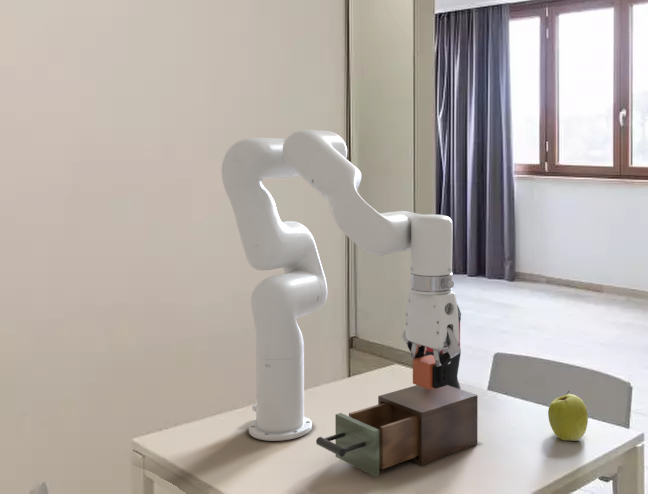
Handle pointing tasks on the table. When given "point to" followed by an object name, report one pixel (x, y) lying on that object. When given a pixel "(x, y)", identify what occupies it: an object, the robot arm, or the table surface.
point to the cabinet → (438, 418)
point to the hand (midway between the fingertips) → (429, 382)
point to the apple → (568, 417)
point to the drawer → (374, 437)
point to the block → (423, 371)
